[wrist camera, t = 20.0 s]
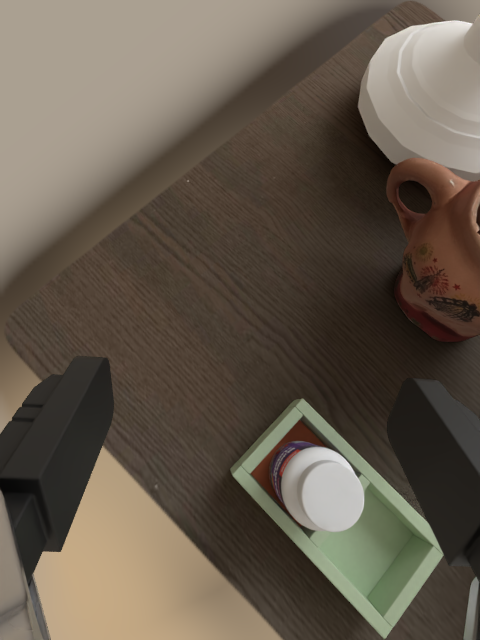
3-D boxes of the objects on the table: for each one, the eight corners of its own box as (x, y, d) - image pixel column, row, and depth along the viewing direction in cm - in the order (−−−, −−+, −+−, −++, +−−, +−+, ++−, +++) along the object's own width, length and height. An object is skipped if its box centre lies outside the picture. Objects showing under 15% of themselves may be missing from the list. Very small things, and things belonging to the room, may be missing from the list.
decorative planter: (314, 268, 37) (371, 185, 24) (378, 193, 40) (460, 82, 27) (475, 394, 35) (638, 380, 22) (531, 305, 38) (704, 244, 25)
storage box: (365, 615, 29) (384, 640, 26) (229, 469, 32) (231, 475, 28) (426, 532, 31) (450, 545, 28) (294, 399, 34) (302, 397, 30)
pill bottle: (273, 434, 32) (298, 442, 23) (332, 447, 32) (380, 459, 23) (262, 499, 31) (283, 536, 21) (323, 512, 31) (371, 554, 21)
